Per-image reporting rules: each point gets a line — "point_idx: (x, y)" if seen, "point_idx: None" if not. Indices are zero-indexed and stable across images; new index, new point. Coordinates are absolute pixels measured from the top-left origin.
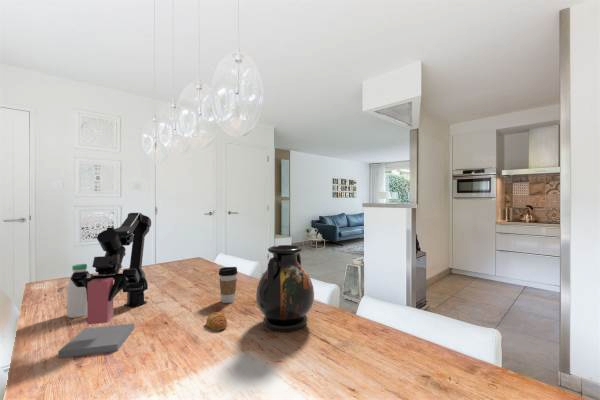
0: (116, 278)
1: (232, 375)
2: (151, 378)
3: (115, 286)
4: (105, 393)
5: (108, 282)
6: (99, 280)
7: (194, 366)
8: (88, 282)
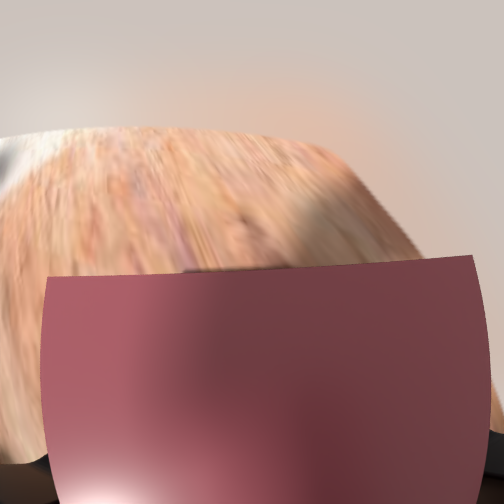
0: (16, 495)
1: (6, 165)
2: (84, 159)
3: None
4: (150, 128)
5: (63, 331)
6: (305, 455)
7: (28, 188)
8: (469, 273)
